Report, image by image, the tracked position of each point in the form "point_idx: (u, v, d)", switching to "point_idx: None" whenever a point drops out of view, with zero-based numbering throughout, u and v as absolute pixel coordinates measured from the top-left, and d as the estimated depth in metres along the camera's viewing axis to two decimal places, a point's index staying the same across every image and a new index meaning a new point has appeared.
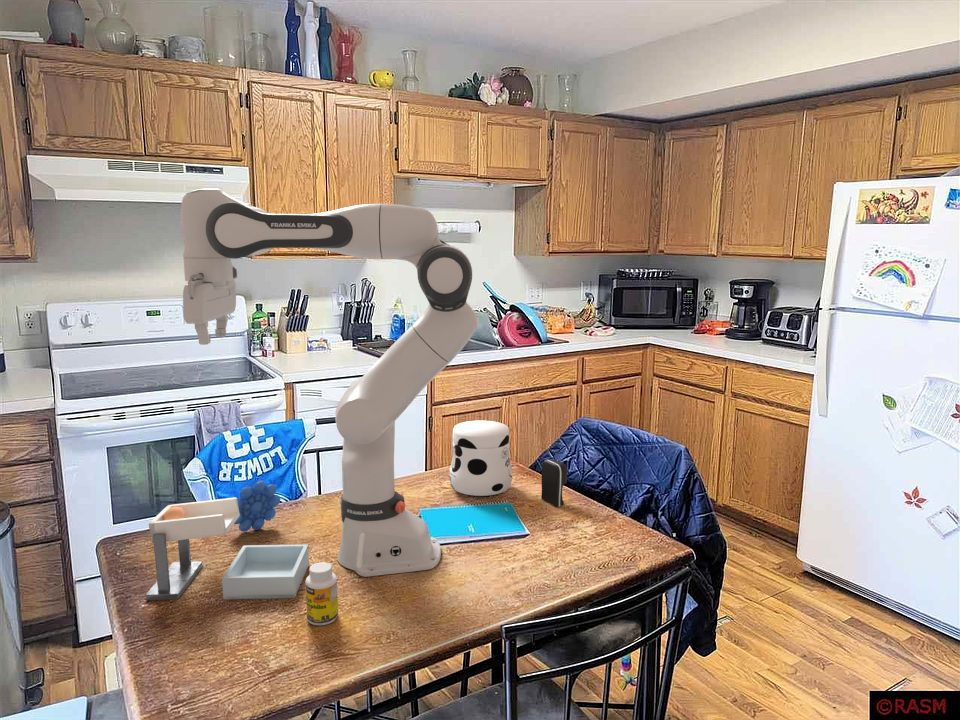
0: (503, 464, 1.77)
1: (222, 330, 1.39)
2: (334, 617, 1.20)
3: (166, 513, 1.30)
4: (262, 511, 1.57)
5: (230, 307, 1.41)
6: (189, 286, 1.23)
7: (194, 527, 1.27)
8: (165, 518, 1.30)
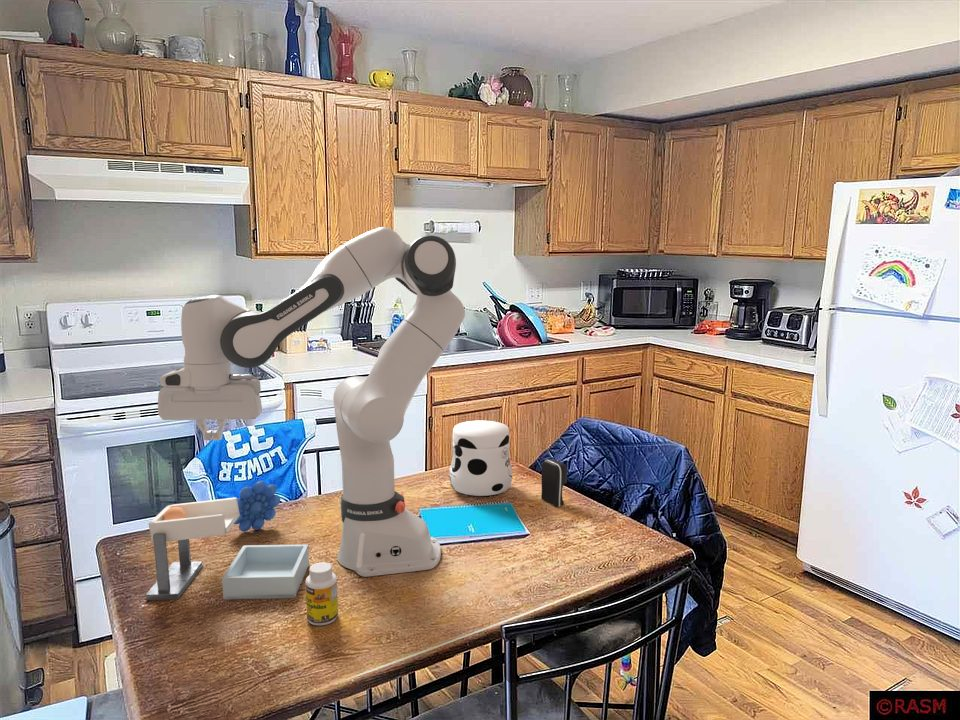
0: (503, 464, 1.77)
1: (212, 431, 1.39)
2: (334, 617, 1.20)
3: (166, 513, 1.30)
4: (262, 511, 1.57)
5: None
6: (259, 384, 1.37)
7: (194, 527, 1.27)
8: (165, 518, 1.30)
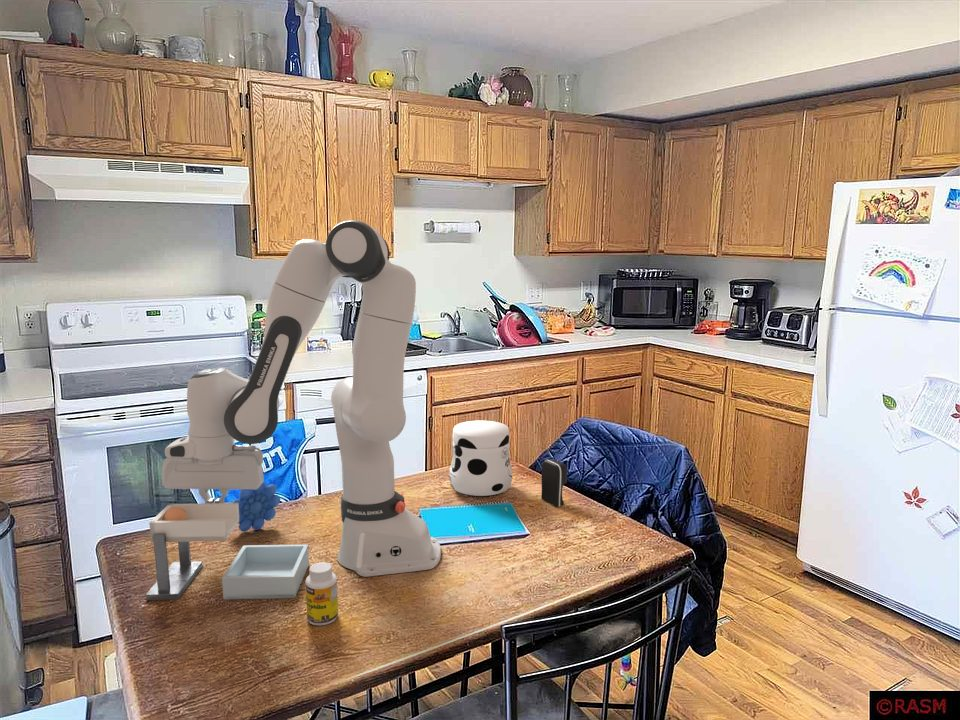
0: (503, 464, 1.77)
1: (214, 499, 1.42)
2: (334, 617, 1.20)
3: (167, 513, 1.30)
4: (262, 511, 1.57)
5: None
6: (262, 455, 1.40)
7: (195, 530, 1.27)
8: (166, 518, 1.30)
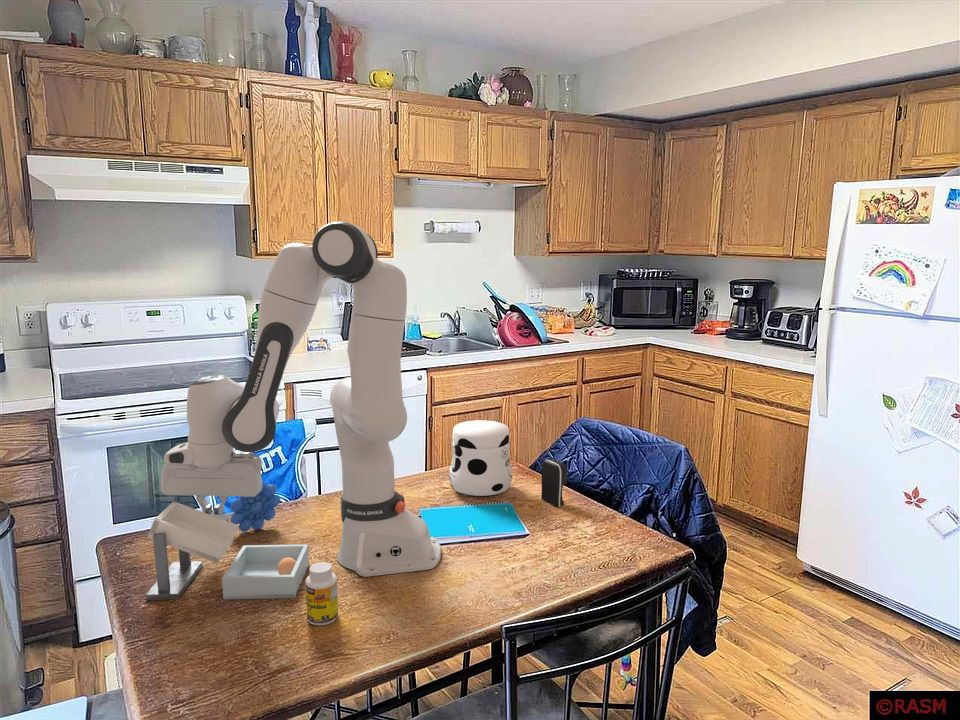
0: (503, 464, 1.77)
1: (211, 506, 1.42)
2: (334, 617, 1.20)
3: (278, 567, 1.33)
4: (262, 511, 1.57)
5: None
6: (261, 462, 1.40)
7: (193, 543, 1.28)
8: (279, 572, 1.33)
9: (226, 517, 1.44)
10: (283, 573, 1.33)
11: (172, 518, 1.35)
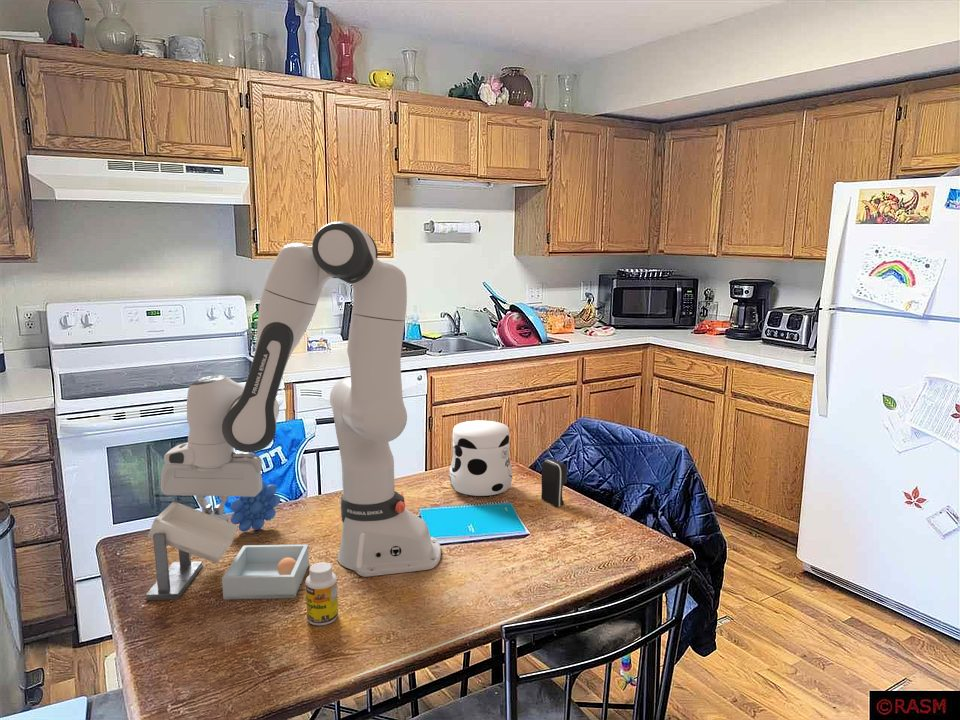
0: (504, 464, 1.77)
1: (211, 506, 1.42)
2: (334, 617, 1.20)
3: (278, 567, 1.33)
4: (262, 511, 1.57)
5: None
6: (261, 462, 1.40)
7: (193, 543, 1.28)
8: (279, 572, 1.33)
9: (226, 517, 1.44)
10: (283, 573, 1.33)
11: (172, 518, 1.35)
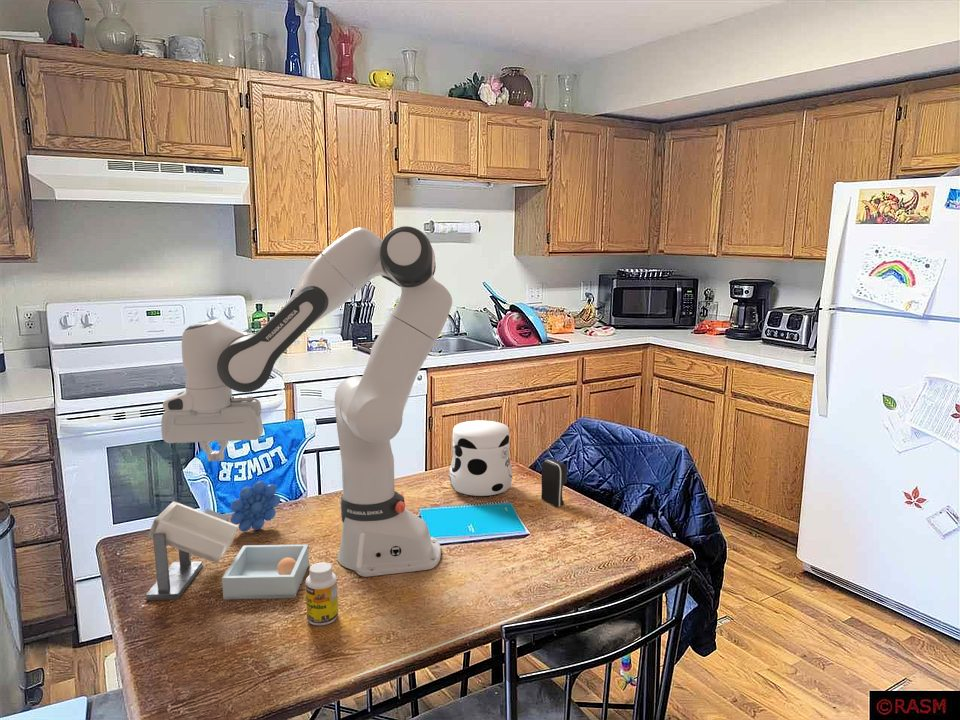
0: (503, 464, 1.77)
1: None
2: (334, 617, 1.20)
3: (278, 567, 1.33)
4: (262, 511, 1.57)
5: None
6: (260, 405, 1.40)
7: (193, 543, 1.28)
8: (279, 572, 1.33)
9: (226, 517, 1.44)
10: (283, 573, 1.33)
11: (172, 518, 1.35)
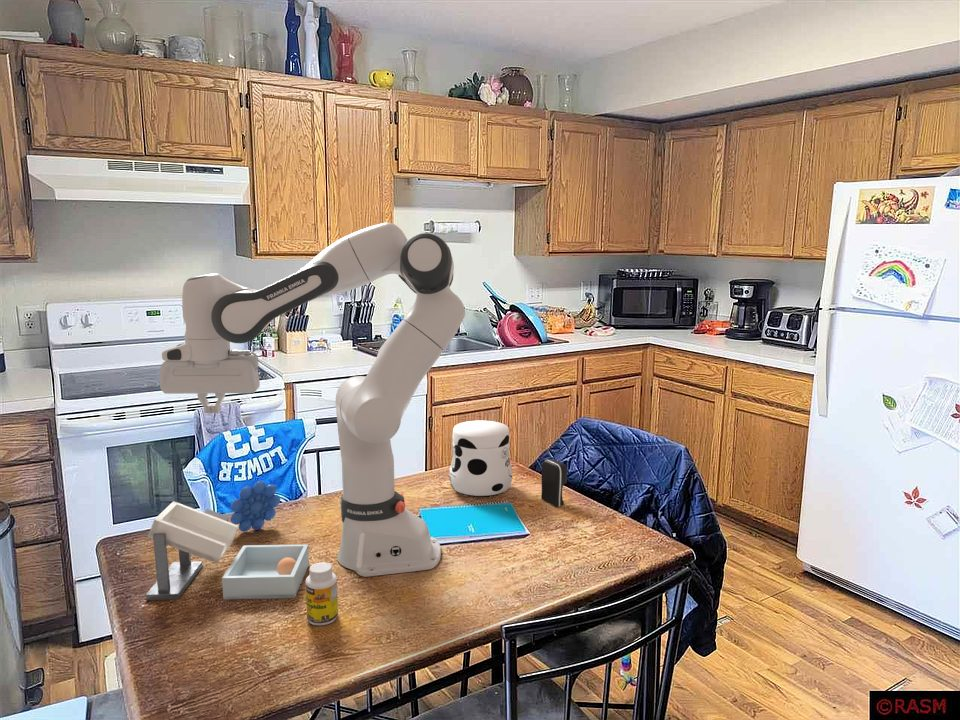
0: (503, 464, 1.77)
1: None
2: (334, 617, 1.20)
3: (278, 567, 1.33)
4: (262, 511, 1.57)
5: None
6: (257, 359, 1.42)
7: (193, 543, 1.28)
8: (279, 572, 1.33)
9: (226, 517, 1.44)
10: (283, 573, 1.33)
11: (172, 518, 1.35)
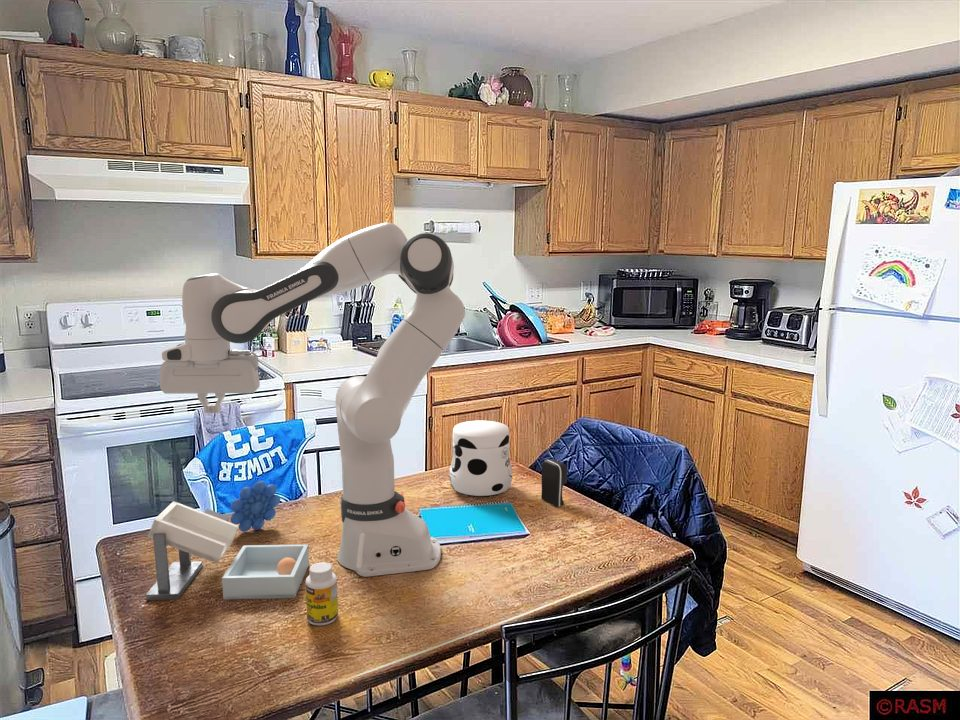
0: (503, 464, 1.77)
1: None
2: (334, 617, 1.20)
3: (278, 567, 1.33)
4: (262, 511, 1.57)
5: None
6: (257, 359, 1.42)
7: (193, 543, 1.28)
8: (279, 572, 1.33)
9: (226, 517, 1.44)
10: (283, 573, 1.33)
11: (172, 518, 1.35)
